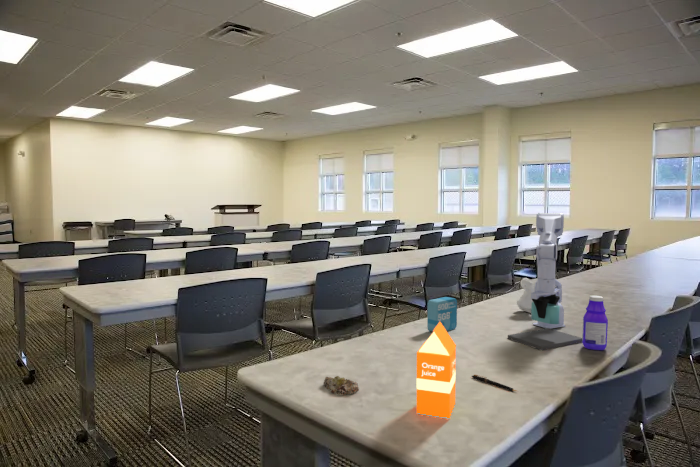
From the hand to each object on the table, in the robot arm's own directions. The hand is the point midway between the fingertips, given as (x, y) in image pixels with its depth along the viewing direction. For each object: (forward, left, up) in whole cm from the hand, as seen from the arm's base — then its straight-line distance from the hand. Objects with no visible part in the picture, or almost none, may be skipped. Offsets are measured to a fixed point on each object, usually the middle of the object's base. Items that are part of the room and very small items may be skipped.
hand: (545, 316), depth 164 cm
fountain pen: (+45, +23, -9) cm, 51 cm away
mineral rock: (+82, +6, -9) cm, 83 cm away
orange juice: (+67, +28, -8) cm, 73 cm away
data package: (+24, -27, -8) cm, 37 cm away
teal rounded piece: (0, -1, -2) cm, 2 cm away
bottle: (-7, +14, -8) cm, 18 cm away
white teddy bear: (-27, -32, -8) cm, 43 cm away
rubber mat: (0, 0, -8) cm, 8 cm away
